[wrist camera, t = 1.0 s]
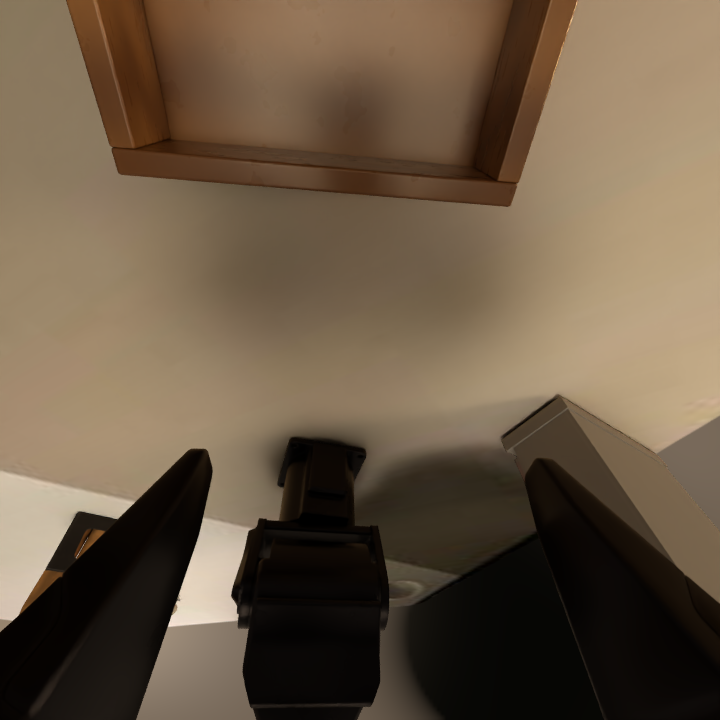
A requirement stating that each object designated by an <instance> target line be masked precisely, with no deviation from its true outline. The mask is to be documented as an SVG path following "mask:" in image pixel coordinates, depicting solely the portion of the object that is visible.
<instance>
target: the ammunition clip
mask: <svg viewBox="0 0 720 720" xmlns="http://www.w3.org/2000/svg"><path fill="white" fill-rule="evenodd" d="M116 521H117V520H116V519H112V518H107V517H102V516H97V515H92V514H88V513H83V512H79V513H77V514H76V516H75V518H74V519H73V521H72V523H71V525H70V527H69V528H68V530H67V532H66V534H65V535H64V537H63V539H62V541H61V543H60V544H59V546H58V548H57V550H56V551H55V553H54V555H53V557H52V559H51V560H50V562H49V564H48V566H47V567H46V569H45V571H44V573H43V574H42V576H41V577H40V579H39V581H38V582H37V584H36V586H35V587H34V589H33V590H32V592H31V594H30V595H29V597H28V599H27V600H26V602H25V604H24V605H23V607H22V609H21V612H20V614H21V613H22V612H23V611H24V610H25V609H26V608H27V607H28V606H29V605H30V604H31V603H32V602H33V601H35V600H36V599H37V598H38V597H39V596H40V595H41V594H42V593H43V592H44V591H45V590H46V589H47V588H48V587H49V586H50V585H51V584H52V583H53V582H54V581H55V580H56V579H57V578H58V577H62V574H63V573H64V572H65V571H66V570H67V569H68V568H69V567H70V566H71V565H72V564H73V563H74V562H75V561H76V560H77V559H78V558H79V557H80V556H81V555H82V554H83V553H84V552H85V551H86V550H87V549H88V548H89V547H90V546H91V545H92V544H93V543H94V542H95V541H96V540H97V539H98V538H99V537H100V536H101V535H102V534H103V533H104V532H105V531H106V530H107V529H108V528H110V527H111V526H112V525H113V524H114V523H115V522H116ZM87 538H88V539H87ZM86 539H87V540H86ZM85 541H86V542H85ZM84 543H85V544H84ZM83 544H84V546H83ZM82 546H83V548H82ZM81 548H82V549H81ZM80 550H81V551H80ZM79 551H80V553H79ZM78 553H79V555H78ZM77 555H78V556H77ZM76 557H77V558H76ZM20 614H19V615H20Z"/></svg>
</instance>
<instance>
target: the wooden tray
mask: <svg viewBox="0 0 720 720" xmlns="http://www.w3.org/2000/svg"><path fill="white" fill-rule="evenodd" d="M66 1H67V5H68V8H69V11H70V15H71V18H72V21H73V25H74V28H75V31H76V35H77V38H78V41H79V45H80V48H81V51H82V54H83V58H84V61H85V64H86V68H87V71H88V74H89V78H90V81H91V84H92V88H93V91H94V94H95V98H96V101H97V104H98V108H99V111H100V114H101V118H102V121H103V124H104V128H105V131H106V134H107V138H108V141H109V144H110V146H111V147H113V148H112V153H113V157H114V160H115V163H116V167H117V170H118V173H119V174H121V175H130V176H142V177H154V178H166V179H178V180H190V181H202V182H214V183H226V184H238V185H251V186H263V187H275V188H287V189H299V190H311V191H323V192H335V193H347V194H359V195H371V196H383V197H396V198H408V199H420V200H432V201H444V202H456V203H468V204H480V205H492V206H504V207H509V206H510V205H511V203H512V200H513V197H514V194H515V191H516V188H517V184H516V183H518V182H519V180H520V177H521V174H522V171H523V168H524V165H525V162H526V158H527V155H528V152H529V149H530V146H531V143H532V140H533V137H534V134H535V131H536V128H537V125H538V122H539V119H540V116H541V113H542V110H543V106H544V103H545V100H546V97H547V94H548V91H549V88H550V85H551V82H552V79H553V76H554V73H555V70H556V67H557V64H558V61H559V58H560V54H561V51H562V48H563V45H564V42H565V39H566V36H567V33H568V30H569V27H570V24H571V21H572V18H573V15H574V12H575V9H576V6H577V3H578V0H66Z"/></svg>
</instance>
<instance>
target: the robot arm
mask: <svg viewBox="0 0 720 720" xmlns="http://www.w3.org/2000/svg"><path fill="white" fill-rule="evenodd" d="M365 458H366V451H365V450H364V449H359V448H353V447H347V446H341V445H335V444H329V443H323V442H317V441H311V440H305V439H299V438H292V439H290V440H289V442H288V446H287V450H286V453H285V457H284V461H283V464H282V468H281V471H280V475H279V479H278V486H280V487H283V488H284V491H283V498H282V505H281V511H280V518H279V521H272V520H267V519H262V518H259V520H258V525H257V527H256V528H255V529H252V530H250V531H249V532H248V536H247V541H246V546H245V550H244V554H243V558H242V561H241V564H240V567H239V570H238V573H237V576H236V579H235V582H234V585H233V589H232V594H231V597H232V598H233V600H234V601H235V603H236V605H237V614H239V617H238V628H241V629H242V628H244V629H247V628H248V629H249V630H248V638H247V643H246V651H245V656H244V663H243V677H244V682H245V688H246V692H247V696H248V700H249V704H250V707H251V708H253V710H254V713H255V717H256V720H357V719H358V717H359V714H360V712H361V710H362V708H363V707H370V706H371V705H372V703H373V701H374V698H375V696H376V693H377V689H378V687H379V684H380V659H379V658H380V657H379V653H380V631H384V630H385V627H386V625H387V620H388V613H389V584H388V576H387V570H386V565H385V560H384V555H383V550H382V544H381V539H380V534H379V529H378V526H373V525H371V526H370V527H368V526H355V518H354V480H355V478H356V476H357V474H358V472H359V470H360V468H361V466H362V464H363V462H364V460H365ZM212 472H213V470H212V465H211V461H210V457H209V453H208V451H207V450H206V449H190V450H188V451H187V452H186V453H185V454H184V455H183V456H182V457H181V458H180V459H179V460H178V461H177V462H176V463H175V464H174V465H173V466H172V467H171V468H170V469H169V470H168V471H167V472H166V473H165V474H164V475H163V476H162V477H161V478H160V479H159V480H158V481H156V482H155V483H154V484H153V485H152V486H151V487H150V488H149V489H148V490H147V491H146V492H145V493H144V494H143V495H142V496H141V497H140V498H139V499H138V500H137V501H136V502H135V503H134V504H133V505H132V506H131V507H130V508H129V509H128V510H127V511H126V512H125V513H124V514H123V515H122V516H121V517H120V518H119V519H118V520H117V521H116V522H115V523H114V524H113V525H112V526H111V527H110V528H108V529H107V530H106V531H105V532H104V533H103V534H102V535H101V536H100V537H99V538H98V539H97V540H96V541H95V542H94V543H93V544H92V545H91V546H90V547H89V548H88V549H87V550H86V551H85V552H84V553H83V554H82V555H81V556H80V557H79V558H78V559H77V560H76V561H75V562H74V563H73V564H72V565H71V566H70V567H69V568H68V569H67V570H66V571H65V572H64V573H63V574H62V577H58V578H57V579H56V580H55V581H54V582H53V583H52V584H51V585H50V586H49V587H48V588H47V589H46V590H45V591H44V592H43V593H42V594H41V595H40V596H39V597H38V598H37V599H36V600H35V601H33V602H32V603H31V604H30V605H29V606H28V607H27V608H26V609H25V610H24V611H23V612H22V613H21V614H20V615H19V616H18V617H17V618H15V619H14V620H13V621H12V622H11V623H10V624H9V625H8V626H7V627H6V628H4V629H3V630H2V631H1V632H0V720H136V718H137V715H138V712H139V709H140V706H141V703H142V701H143V698H144V695H145V692H146V689H147V686H148V683H149V680H150V677H151V674H152V671H153V668H154V665H155V662H156V659H157V657H158V654H159V651H160V648H161V645H162V642H163V639H164V636H165V633H166V630H167V627H168V624H169V621H170V618H171V615H172V613H173V610H174V607H175V604H176V601H177V598H178V595H179V592H180V589H181V586H182V583H183V580H184V577H185V574H186V571H187V569H188V566H189V563H190V560H191V557H192V554H193V551H194V548H195V545H196V542H197V539H198V536H199V532H200V528H201V524H202V519H203V515H204V510H205V506H206V501H207V497H208V492H209V488H210V483H211V479H212ZM525 486H526V490H527V494H528V498H529V501H530V505H531V509H532V513H533V517H534V521H535V525H536V529H537V533H538V536H539V539H540V542H541V545H542V548H543V550H544V553H545V556H546V559H547V562H548V564H549V567H550V570H551V573H552V575H553V578H554V581H555V584H556V586H557V589H558V592H559V595H560V598H561V600H562V603H563V606H564V608H565V611H566V614H567V617H568V620H569V622H570V625H571V628H572V631H573V633H574V636H575V639H576V642H577V645H578V647H579V650H580V653H581V655H582V658H583V661H584V664H585V667H586V669H587V672H588V675H589V678H590V681H591V683H592V686H593V689H594V691H595V694H596V697H597V700H598V702H599V705H600V708H601V711H602V714H603V717H604V719H605V720H720V603H719V602H717V601H716V600H715V599H714V598H713V597H712V596H710V595H709V594H708V593H707V592H706V591H704V590H703V589H702V588H701V587H700V586H699V585H697V584H696V583H695V582H694V581H693V580H692V579H691V578H689V577H688V576H687V575H684V573H683V572H682V571H681V570H680V569H679V568H678V567H677V566H675V565H674V564H673V563H672V562H671V561H670V560H669V559H667V558H666V557H665V556H664V555H663V554H662V553H660V552H659V551H658V550H657V549H656V548H655V547H654V546H652V545H651V544H650V543H649V542H648V541H647V540H645V539H644V538H643V537H642V536H641V535H640V534H639V533H637V532H636V531H635V530H634V529H633V528H632V527H630V526H629V525H628V524H627V523H626V522H625V521H624V520H622V519H621V518H620V517H619V516H618V515H617V514H615V513H614V512H613V511H612V510H611V509H610V508H609V507H607V506H606V505H605V504H604V503H603V502H602V501H600V500H599V499H598V498H597V497H596V496H595V495H594V494H592V493H591V492H590V491H589V490H588V489H587V488H586V487H584V486H583V485H582V484H581V483H580V482H579V481H577V480H576V479H575V478H574V477H573V476H572V475H571V474H569V473H568V472H567V471H566V470H565V469H564V468H562V467H561V466H560V465H559V464H558V463H557V462H556V461H554V460H553V459H551V458H536V459H535V460H534V461H533V462H532V464H531V466H530V467H529V469H528V471H527V472H526V474H525Z"/></svg>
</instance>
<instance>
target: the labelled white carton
mask: <svg viewBox="0 0 720 720" xmlns="http://www.w3.org/2000/svg"><path fill="white" fill-rule="evenodd" d="M501 441H502V443H503V446H504V448H505V450H506V452H509V453H511V454H513V455H515V456H517V457H518V458H516V459H515V462H516V465H517V467H518V469H519V471H520V473H521V476H522V478H523V480H524V482H525V474H526V472H527V471H528V469H529V467H530V466H531V464H532V462H533V461H534V460H535V459H536V458H551V459H553V460H554V461H556V462H557V463H558V464H559V465H560V466H561V467H562V468H564V469H565V470H566V471H567V472H568V473H569V474H571V475H572V476H573V477H574V478H575V479H576V480H577V481H579V482H580V483H581V484H582V485H583V486H584V487H586V488H587V489H588V490H589V491H590V492H591V493H592V494H594V495H595V496H596V497H597V498H598V499H599V500H600V501H602V502H603V503H604V504H605V505H606V506H607V507H609V508H610V509H611V510H612V511H613V512H614V513H615V514H617V515H618V516H619V517H620V518H621V519H622V520H624V521H625V522H626V523H627V524H628V525H629V526H630V527H632V528H633V529H634V530H635V531H636V532H637V533H639V534H640V535H641V536H642V537H643V538H644V539H645V540H647V541H648V542H649V543H650V544H651V545H652V546H654V547H655V548H656V549H657V550H658V551H659V552H660V553H662V554H663V555H664V556H665V557H666V558H667V559H669V560H670V561H671V562H672V563H673V564H674V565H675V566H677V567H678V568H679V569H680V570H681V571H682V572H683V573H684V575H687V576H688V577H689V578H691V579H692V580H693V581H694V582H695V583H696V584H697V585H699V586H700V587H701V588H702V589H703V590H704V591H706V592H707V593H708V594H709V595H710V596H712V597H713V598H714V599H715V600H716V601H717V602H719V603H720V531H719V530H718V529H717V527H716V526H715V525H714V524H713V523H712V522H711V520H710V519H709V518H708V517H707V516H706V514H705V513H704V512H703V511H702V510H701V509H700V507H699V506H698V505H697V504H696V503H695V501H694V500H693V499H692V498H691V497H690V496H689V494H688V493H687V492H686V491H685V489H684V488H683V487H682V486H681V485H680V484H679V482H678V481H677V480H676V479H675V478H674V476H673V475H672V474H671V473H670V472H669V471H668V469H667V468H666V467H667V465H666V464H665V463H664V462H663V461H662V459H661V458H660V457H659V456H658V455H656V454H655V453H653V452H651V451H650V450H648V449H646V448H645V447H643V446H641V445H640V444H638V443H636V442H635V441H633V440H631V439H630V438H628V437H627V436H625V435H623V434H622V433H620V432H618V431H617V430H615V429H613V428H612V427H610V426H608V425H607V424H605V423H603V422H602V421H600V420H599V419H597V418H595V417H594V416H592V415H590V414H589V413H587V412H585V411H584V410H582V409H580V408H579V407H577V406H575V405H574V404H572V403H571V402H569V401H567V400H566V399H564V398H562V397H561V396H560V397H559V398H557V399H556V400H555V401H553V402H552V403H551V404H549V405H548V406H547V407H545V408H544V409H543V410H541V411H540V412H539V413H537V414H536V415H535V416H533V417H532V418H530V419H529V420H528V421H526V422H525V423H524V424H522V425H521V426H520V427H518V428H517V429H516V430H514V431H513V432H512V433H510V434H509V435H508V436H506V437H505V438H503V439H502V440H501Z"/></svg>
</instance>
